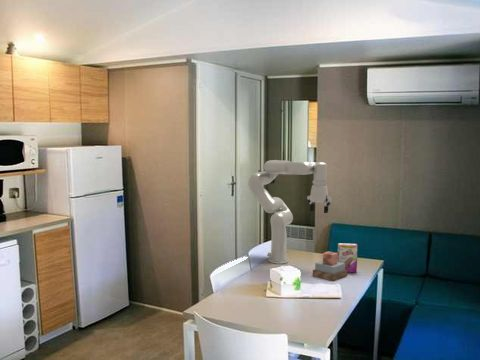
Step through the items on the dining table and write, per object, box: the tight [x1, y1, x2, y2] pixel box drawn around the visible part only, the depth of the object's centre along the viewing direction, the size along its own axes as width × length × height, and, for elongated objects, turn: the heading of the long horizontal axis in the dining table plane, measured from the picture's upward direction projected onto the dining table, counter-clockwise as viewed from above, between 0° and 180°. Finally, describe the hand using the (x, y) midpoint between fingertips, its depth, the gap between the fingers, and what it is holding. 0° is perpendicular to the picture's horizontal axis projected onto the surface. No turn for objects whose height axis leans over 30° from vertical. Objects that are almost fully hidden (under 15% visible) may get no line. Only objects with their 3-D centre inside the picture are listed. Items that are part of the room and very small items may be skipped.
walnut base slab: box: [312, 268, 348, 282], centre depth 267 cm, size 14×14×4 cm
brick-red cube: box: [322, 250, 338, 265], centre depth 266 cm, size 6×6×6 cm
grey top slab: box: [314, 260, 345, 274], centre depth 267 cm, size 12×12×4 cm
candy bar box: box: [337, 242, 359, 274], centre depth 276 cm, size 11×5×16 cm, turn 84°
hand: (319, 211), depth 280 cm, fingers open, 9 cm apart
